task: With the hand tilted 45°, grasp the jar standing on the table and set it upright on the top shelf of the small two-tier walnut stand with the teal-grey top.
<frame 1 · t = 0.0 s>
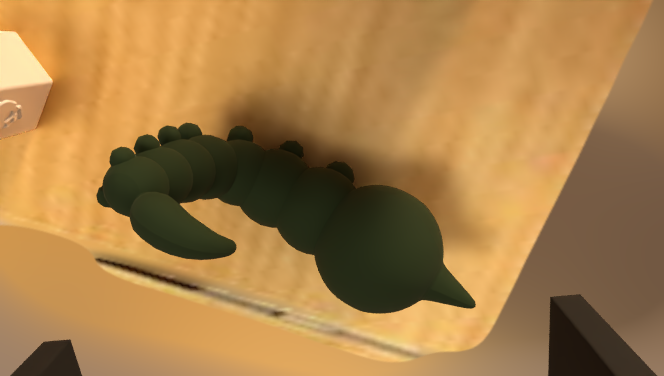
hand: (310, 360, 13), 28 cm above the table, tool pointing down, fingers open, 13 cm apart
jar: (2, 82, 39), on the table
toy figurine: (320, 192, 41), on the table
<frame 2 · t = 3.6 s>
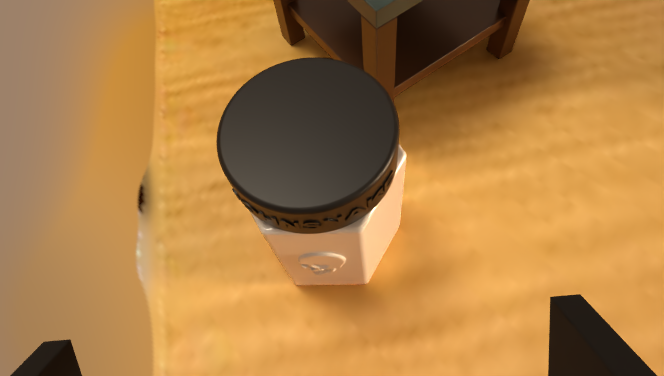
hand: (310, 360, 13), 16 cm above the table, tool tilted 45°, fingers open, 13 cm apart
stand: (392, 43, 38), on the table
jar: (332, 228, 31), on the table
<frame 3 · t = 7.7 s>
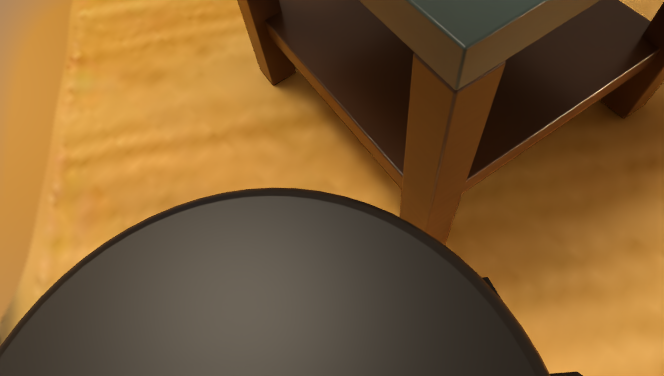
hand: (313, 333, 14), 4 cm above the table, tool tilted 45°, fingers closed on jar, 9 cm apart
stand: (439, 85, 23), on the table
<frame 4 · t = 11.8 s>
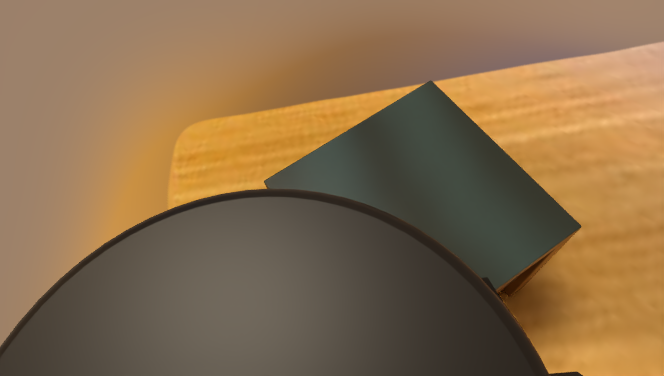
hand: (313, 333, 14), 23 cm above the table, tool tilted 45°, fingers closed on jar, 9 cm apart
stand: (403, 267, 38), on the table
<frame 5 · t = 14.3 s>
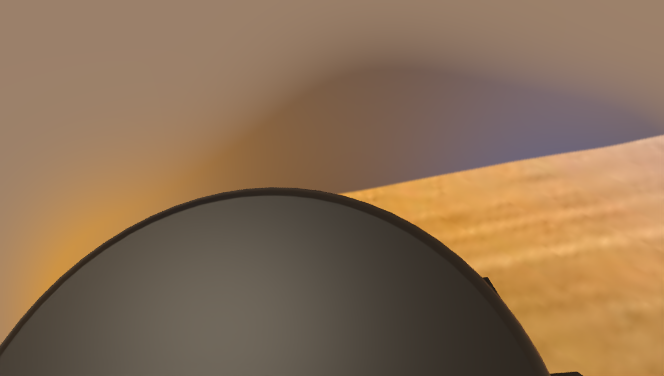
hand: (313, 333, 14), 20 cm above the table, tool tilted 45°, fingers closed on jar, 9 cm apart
when the fingers open (16 cm above the table, at t = 16.0 s): jar stays where it is, resting on stand.
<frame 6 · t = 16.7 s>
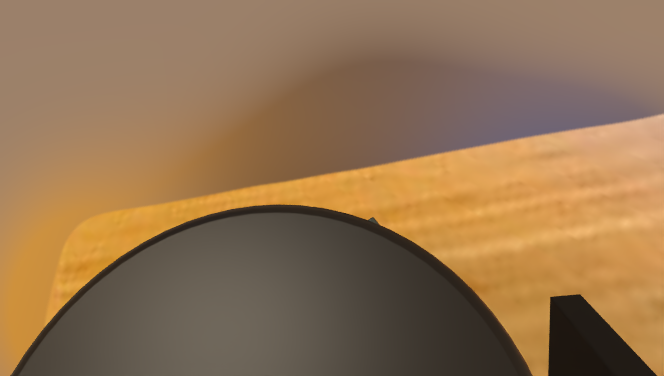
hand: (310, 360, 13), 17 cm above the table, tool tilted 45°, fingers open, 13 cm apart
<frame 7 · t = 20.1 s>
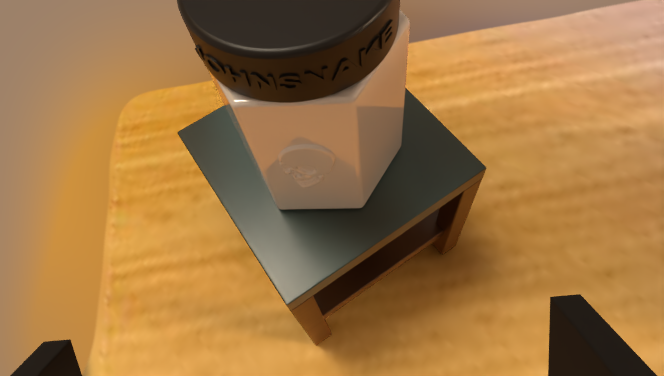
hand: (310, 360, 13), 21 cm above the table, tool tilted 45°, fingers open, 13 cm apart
stand: (339, 228, 38), on the table
jar: (323, 151, 27), point 12 cm above the table, touching stand
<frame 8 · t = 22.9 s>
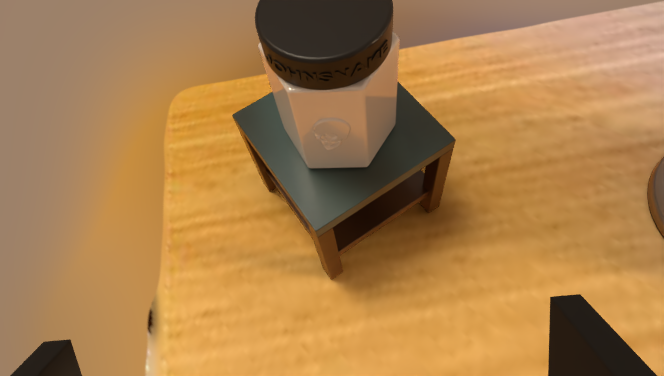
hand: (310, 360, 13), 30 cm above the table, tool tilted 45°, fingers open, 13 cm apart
stand: (348, 193, 49), on the table
jar: (339, 128, 38), point 12 cm above the table, touching stand
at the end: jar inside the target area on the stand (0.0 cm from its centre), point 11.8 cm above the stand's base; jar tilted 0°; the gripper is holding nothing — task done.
